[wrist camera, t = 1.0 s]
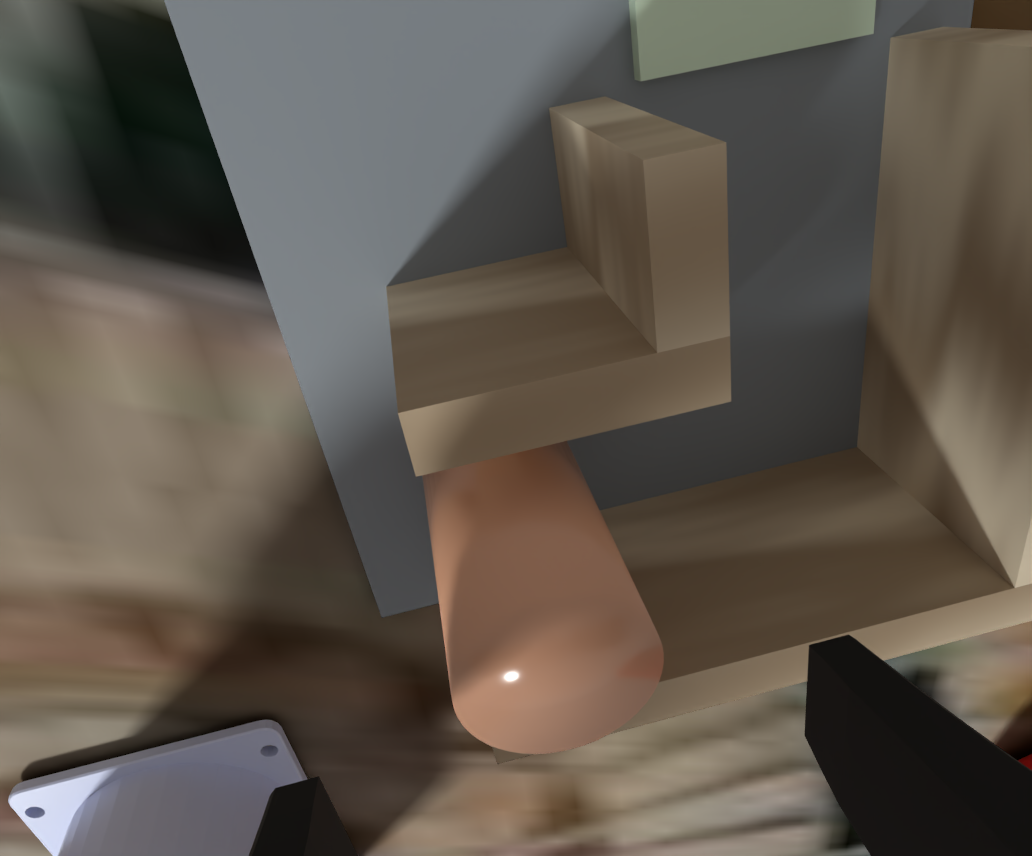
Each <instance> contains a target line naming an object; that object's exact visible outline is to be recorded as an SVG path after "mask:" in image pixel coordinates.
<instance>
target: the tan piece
mask: <svg viewBox="0 0 1032 856" xmlns="http://www.w3.org/2000/svg"><path fill="white" fill-rule="evenodd" d="M549 112H550V120H551V127H552V135H553V142H554V150H555V158H556V165H557V173H558V180H559V188H560V196H561V203H562V211H563V218H564V226H565V234H566V241H567V247H565V248H560V249H556V250H551V251H546V252H542V253H537V254H533V255H528V256H524V257H519V258H515V259H510V260H505V261H501V262H496V263H492V264H487V265H483V266H478V267H474V268H469V269H465V270H460V271H455V272H451V273H446V274H442V275H437V276H433V277H428V278H424V279H419V280H414V281H410V282H405V283H401V284H396V285H392V286H387V287H386V291H387V302H388V313H389V323H390V334H391V345H392V355H393V366H394V377H395V388H396V398H397V409H398V415H399V419H400V422H401V426H402V429H403V433H404V437H405V440H406V444H407V447H408V451H409V454H410V458H411V461H412V465H413V468H414V472H415V475H416V477H417V476H422V475H426V474H430V473H434V472H438V471H442V470H447V469H451V468H455V467H459V466H463V465H468V464H472V463H476V462H480V461H484V460H488V459H493V458H497V457H501V456H505V455H509V454H514V453H518V452H522V451H526V450H530V449H535V448H539V447H543V446H547V445H551V444H555V443H560V442H564V441H568V440H572V439H576V438H581V437H585V436H589V435H593V434H597V433H602V432H606V431H610V430H614V429H618V428H622V427H627V426H631V425H635V424H639V423H643V422H648V421H652V420H656V419H660V418H664V417H668V416H673V415H677V414H681V413H685V412H689V411H694V410H698V409H702V408H706V407H710V406H715V405H719V404H723V403H727V402H731V359H730V307H729V255H728V204H727V152H726V142H724V141H721V140H719V139H716V138H713V137H711V136H708V135H705V134H703V133H700V132H698V131H695V130H692V129H690V128H687V127H684V126H682V125H679V124H677V123H674V122H671V121H669V120H666V119H663V118H661V117H658V116H656V115H653V114H650V113H648V112H645V111H642V110H640V109H637V108H635V107H632V106H629V105H627V104H624V103H621V102H619V101H616V100H614V99H611V98H608V97H606V96H604V97H600V98H595V99H590V100H585V101H580V102H575V103H570V104H566V105H561V106H556V107H551V108H549ZM600 512H601V514H602V516H603V519H604V521H605V523H606V525H607V527H608V529H609V531H610V533H611V535H612V538H613V540H614V542H615V544H616V546H617V548H618V550H619V552H620V554H621V557H622V559H623V561H624V563H625V565H626V567H627V569H628V571H629V574H630V576H631V578H632V580H633V582H634V584H635V586H636V588H637V590H638V593H639V595H640V597H641V599H642V601H643V603H644V605H645V607H646V609H647V612H648V614H649V616H650V618H651V620H652V622H653V624H654V626H655V629H656V631H657V633H658V635H659V638H660V640H661V643H662V647H663V652H664V664H663V670H662V674H661V677H660V680H659V683H658V685H657V687H656V689H655V691H654V693H653V694H652V696H651V697H650V699H649V700H648V702H647V703H646V704H645V705H644V706H643V707H642V709H641V710H640V711H639V712H638V713H637V714H636V715H635V716H634V717H632V718H631V719H630V720H629V721H628V722H626V723H625V724H624V725H622V726H621V727H620V728H618V729H617V730H615V731H613V732H612V733H616V732H619V731H623V730H627V729H631V728H634V727H638V726H642V725H645V724H649V723H653V722H657V721H660V720H664V719H668V718H671V717H675V716H679V715H683V714H686V713H690V712H694V711H697V710H701V709H705V708H709V707H712V706H716V705H720V704H723V703H727V702H731V701H735V700H738V699H742V698H746V697H750V696H753V695H757V694H761V693H764V692H768V691H772V690H776V689H779V688H783V687H787V686H790V685H794V684H798V683H802V682H805V681H807V676H808V654H809V645H811V644H815V643H818V642H822V641H826V640H830V639H833V638H837V637H841V636H845V635H850V636H852V637H853V638H855V639H856V640H858V641H859V642H860V643H861V644H863V645H864V646H865V647H866V648H868V649H869V650H870V651H872V652H873V653H874V654H875V655H877V656H878V657H879V658H881V659H882V660H887V659H891V658H895V657H898V656H902V655H906V654H909V653H913V652H917V651H921V650H924V649H928V648H932V647H935V646H939V645H943V644H947V643H950V642H954V641H958V640H961V639H965V638H969V637H973V636H976V635H980V634H984V633H987V632H991V631H995V630H999V629H1002V628H1006V627H1010V626H1013V625H1017V624H1021V623H1025V622H1028V621H1032V30H1008V29H984V28H959V27H940V28H935V29H930V30H925V31H920V32H916V33H911V34H906V35H901V36H896V37H891V39H890V51H889V63H888V75H887V87H886V99H885V112H884V124H883V136H882V148H881V160H880V173H879V185H878V197H877V209H876V221H875V234H874V246H873V258H872V270H871V282H870V295H869V307H868V319H867V331H866V343H865V356H864V368H863V380H862V392H861V404H860V416H859V429H858V441H857V447H855V448H851V449H847V450H843V451H839V452H835V453H831V454H827V455H823V456H819V457H815V458H810V459H806V460H802V461H798V462H794V463H790V464H786V465H782V466H778V467H774V468H770V469H766V470H762V471H758V472H754V473H750V474H746V475H742V476H737V477H733V478H729V479H725V480H721V481H717V482H713V483H709V484H705V485H701V486H697V487H693V488H689V489H685V490H681V491H677V492H673V493H669V494H664V495H660V496H656V497H652V498H648V499H644V500H640V501H636V502H632V503H628V504H624V505H620V506H616V507H612V508H608V509H604V510H600ZM612 733H610V734H612ZM492 748H493V751H494V755H495V758H496V762H497V764H500V763H504V762H508V761H512V760H515V759H519V758H523V757H526V756H530V755H534V754H524V753H516V752H509V751H505V750H502V749H498V748H495V747H493V746H492Z"/></svg>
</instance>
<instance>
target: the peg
mask: <svg viewBox="0 0 1032 856" xmlns="http://www.w3.org/2000/svg"><path fill="white" fill-rule="evenodd" d="M422 478H423V485H424V493H425V500H426V508H427V515H428V523H429V531H430V538H431V546H432V553H433V561H434V568H435V576H436V584H437V591H438V599H439V606H440V614H441V622H442V629H443V637H444V644H445V652H446V659H447V667H448V675H449V682H450V690H451V697H452V703H453V707H454V710H455V713H456V715H457V717H458V719H459V720H460V722H461V723H462V725H463V726H464V727H465V728H466V729H467V730H468V731H469V732H470V733H471V734H472V735H473V736H475V737H476V738H477V739H479V740H481V741H482V742H484V743H486V744H488V745H490V746H493V747H495V748H498V749H502V750H505V751H509V752H516V753H524V754H545V753H554V752H561V751H565V750H570V749H574V748H577V747H580V746H583V745H586V744H589V743H591V742H594V741H596V740H599V739H600V738H602V737H604V736H606V735H608V734H610V733H612V732H613V731H615V730H617V729H618V728H620V727H621V726H622V725H624V724H625V723H626V722H628V721H629V720H630V719H631V718H632V717H634V716H635V715H636V714H637V713H638V712H639V711H640V710H641V709H642V707H643V706H644V705H645V704H646V703H647V702H648V700H649V699H650V697H651V696H652V694H653V693H654V691H655V689H656V687H657V685H658V683H659V680H660V677H661V674H662V670H663V664H664V652H663V647H662V643H661V640H660V638H659V635H658V633H657V631H656V629H655V626H654V624H653V622H652V620H651V618H650V616H649V614H648V612H647V609H646V607H645V605H644V603H643V601H642V599H641V597H640V595H639V593H638V590H637V588H636V586H635V584H634V582H633V580H632V578H631V576H630V574H629V571H628V569H627V567H626V565H625V563H624V561H623V559H622V557H621V554H620V552H619V550H618V548H617V546H616V544H615V542H614V540H613V538H612V535H611V533H610V531H609V529H608V527H607V525H606V523H605V521H604V519H603V516H602V514H601V512H600V510H599V508H598V506H597V504H596V502H595V499H594V497H593V495H592V493H591V491H590V489H589V487H588V485H587V483H586V480H585V478H584V476H583V474H582V472H581V470H580V468H579V466H578V464H577V461H576V459H575V457H574V455H573V453H572V451H571V449H570V447H569V444H568V442H567V441H564V442H560V443H555V444H551V445H547V446H543V447H539V448H535V449H530V450H526V451H522V452H518V453H514V454H509V455H505V456H501V457H497V458H493V459H488V460H484V461H480V462H476V463H472V464H468V465H463V466H459V467H455V468H451V469H447V470H442V471H438V472H434V473H430V474H426V475H422Z"/></svg>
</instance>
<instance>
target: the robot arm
mask: <svg viewBox="0 0 1032 856" xmlns="http://www.w3.org/2000/svg"><path fill="white" fill-rule="evenodd" d="M805 737H806V739H807V741H808V743H809V745H810V747H811V749H812V751H813V753H814V756H815V758H816V760H817V762H818V764H819V766H820V768H821V770H822V772H823V774H824V776H825V778H826V780H827V782H828V784H829V786H830V788H831V790H832V792H833V794H834V796H835V798H836V800H837V802H838V803H839V805H840V807H841V809H842V810H843V812H844V813H845V815H846V817H847V818H848V820H849V821H850V823H851V825H852V826H853V828H854V829H855V831H856V833H857V834H858V836H859V837H860V839H861V840H862V842H863V844H864V845H865V847H866V848H867V850H868V852H869V853H870V855H871V856H1032V770H1031V769H1029V768H1028V767H1026V766H1025V765H1023V764H1022V763H1020V762H1019V761H1017V760H1016V759H1015V758H1013V757H1012V756H1010V755H1009V754H1008V753H1006V752H1005V751H1003V750H1002V749H1001V748H999V747H998V746H996V745H995V744H994V743H992V742H991V741H989V740H988V739H987V738H985V737H984V736H983V735H981V734H980V733H978V732H977V731H976V730H974V729H973V728H971V727H970V726H969V725H967V724H966V723H964V722H963V721H962V720H960V719H959V718H958V717H956V716H955V715H954V714H952V713H951V712H950V711H948V710H947V709H946V708H944V707H943V706H942V705H940V704H939V703H938V702H936V701H935V700H934V699H932V698H931V697H930V696H928V695H927V694H926V693H924V692H923V691H922V690H920V689H919V688H918V687H917V686H915V685H914V684H913V683H911V682H910V681H909V680H907V679H906V678H905V677H904V676H902V675H901V674H900V673H898V672H897V671H896V670H895V669H893V668H892V667H891V666H889V665H888V664H887V663H886V662H884V661H883V660H882V659H881V658H879V657H878V656H877V655H875V654H874V653H873V652H872V651H870V650H869V649H868V648H866V647H865V646H864V645H863V644H861V643H860V642H859V641H858V640H856V639H855V638H853V637H852V636H850V635H845V636H841V637H837V638H833V639H830V640H826V641H822V642H818V643H815V644H811V645H809V654H808V676H807V697H806V718H805ZM267 745H273V746H267ZM8 802H9V804H10V806H11V807H12V808H13V810H14V811H15V812H16V813H17V814H18V815H19V817H20V818H21V819H22V820H23V821H24V822H25V824H26V825H27V826H28V827H29V828H30V829H31V831H32V832H33V833H34V834H35V835H36V837H37V838H38V839H39V840H40V841H41V842H42V844H43V845H44V846H45V847H46V848H47V849H48V851H49V852H50V853H51V854H52V855H53V856H358V855H357V853H356V851H355V849H354V847H353V845H352V843H351V841H350V839H349V837H348V835H347V833H346V831H345V829H344V827H343V825H342V823H341V821H340V819H339V817H338V814H337V812H336V810H335V808H334V806H333V804H332V802H331V800H330V798H329V796H328V794H327V792H326V790H325V788H324V786H323V784H322V782H321V780H320V778H319V776H318V777H315V778H311V779H307V777H306V775H305V773H304V771H303V769H302V767H301V765H300V763H299V761H298V759H297V757H296V755H295V753H294V751H293V749H292V747H291V745H290V743H289V741H288V739H287V737H286V735H285V733H284V731H283V729H282V727H281V726H280V725H279V723H277V722H275V721H273V720H267V719H266V720H259V721H255V722H251V723H247V724H244V725H240V726H236V727H232V728H228V729H224V730H220V731H216V732H213V733H209V734H205V735H201V736H197V737H193V738H189V739H186V740H182V741H178V742H174V743H170V744H166V745H162V746H158V747H155V748H151V749H147V750H143V751H139V752H135V753H131V754H128V755H124V756H120V757H116V758H112V759H108V760H104V761H100V762H97V763H93V764H89V765H85V766H81V767H77V768H73V769H70V770H66V771H62V772H58V773H54V774H50V775H46V776H42V777H39V778H35V779H31V780H27V781H23V782H21V783H18V784H17V785H15V786H14V787H13V789H12V791H11V794H10V796H9V799H8Z"/></svg>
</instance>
